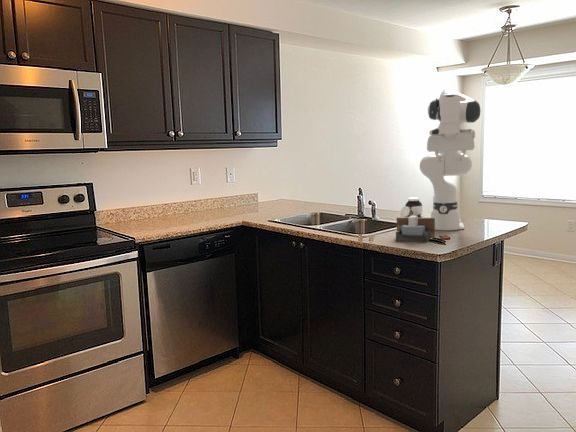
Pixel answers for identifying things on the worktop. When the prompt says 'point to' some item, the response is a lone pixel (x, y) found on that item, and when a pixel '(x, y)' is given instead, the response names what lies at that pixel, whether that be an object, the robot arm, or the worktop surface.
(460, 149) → the robot arm
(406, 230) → the grey stepped block
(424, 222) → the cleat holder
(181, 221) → the worktop surface
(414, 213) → the spread jar
